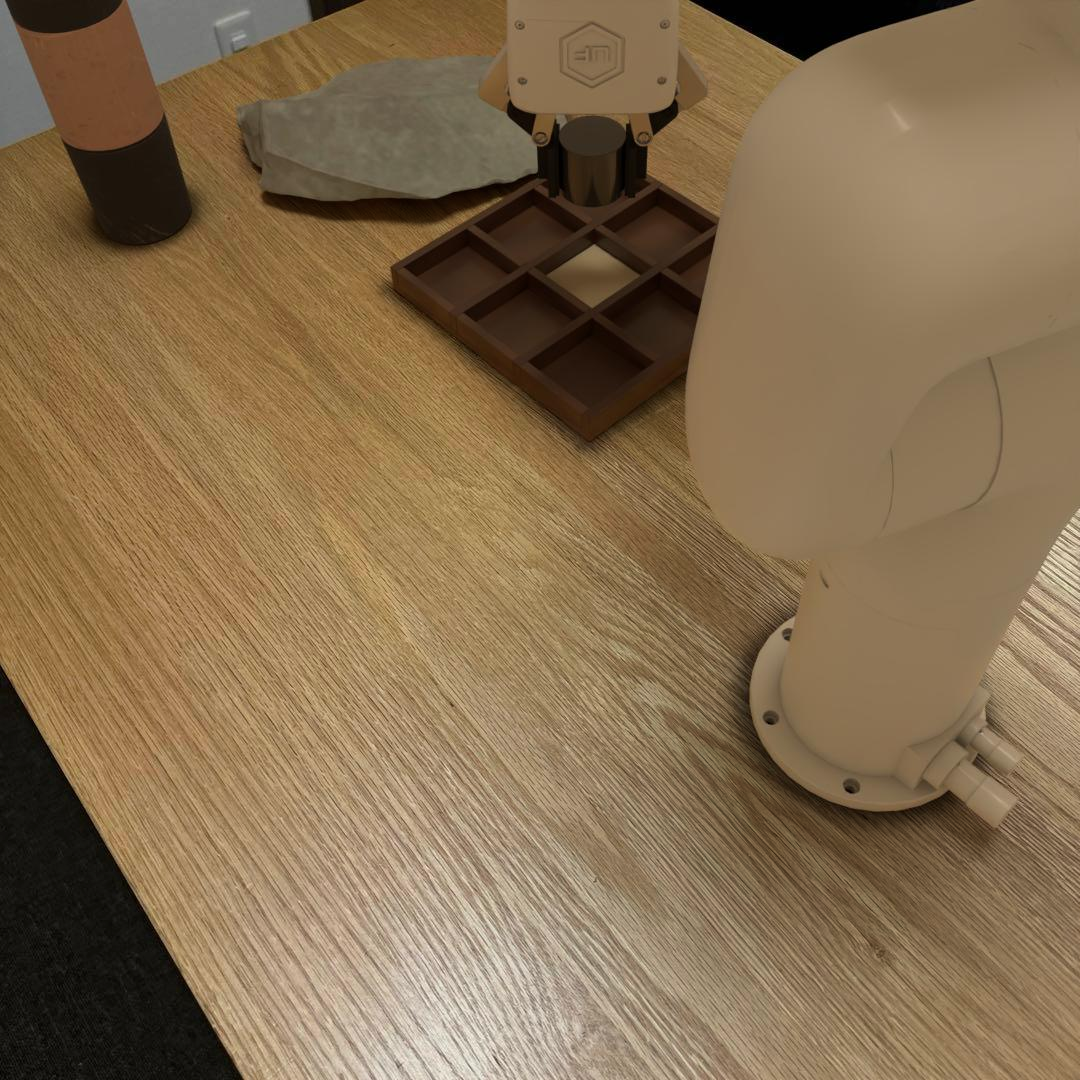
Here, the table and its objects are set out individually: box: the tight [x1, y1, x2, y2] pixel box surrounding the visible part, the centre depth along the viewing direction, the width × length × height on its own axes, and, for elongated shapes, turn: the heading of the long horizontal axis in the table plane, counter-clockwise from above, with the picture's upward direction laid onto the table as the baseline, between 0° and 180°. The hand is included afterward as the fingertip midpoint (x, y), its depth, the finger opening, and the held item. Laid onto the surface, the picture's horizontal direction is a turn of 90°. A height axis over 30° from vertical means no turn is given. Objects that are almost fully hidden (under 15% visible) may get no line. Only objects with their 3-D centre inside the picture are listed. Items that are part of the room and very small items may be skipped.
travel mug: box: [4, 0, 192, 245], centre depth 86 cm, size 8×8×20 cm
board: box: [389, 173, 720, 442], centre depth 86 cm, size 21×21×2 cm
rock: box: [235, 54, 568, 202], centre depth 96 cm, size 27×6×20 cm
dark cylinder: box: [559, 115, 626, 208], centre depth 78 cm, size 4×4×4 cm
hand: (592, 182), depth 80 cm, fingers closed on dark cylinder, 4 cm apart
